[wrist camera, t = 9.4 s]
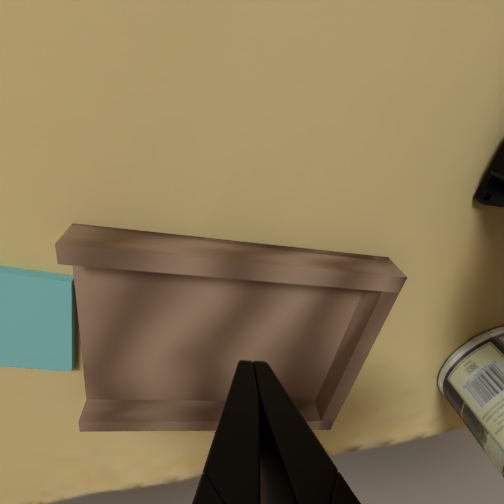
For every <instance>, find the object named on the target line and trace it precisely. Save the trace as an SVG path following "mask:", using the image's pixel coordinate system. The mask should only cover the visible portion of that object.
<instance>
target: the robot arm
mask: <svg viewBox="0 0 504 504" xmlns="http://www.w3.org/2000/svg"><path fill="white" fill-rule="evenodd" d="M486 194H487V195H486ZM485 195H486V196H485ZM484 196H485V197H484ZM475 200H476V201H477V202H479V203H481V204H484V205H491V206H497V207H504V144H503V146H502V147H501V149H500V151H499V153H498V155H497V156H496V158H495V160H494V162H493V164H492V166H491V167H490V169H489V171H488V173H487V175H486V177H485V178H484V180H483V182H482V184H481V186H480V187H479V189H478V191H477V193H476V195H475ZM337 472H338V470H337V468H336V466H335V465H334V463H333V462H332V460H331V459H330V457H329V455H328V454H327V452H326V451H325V449H324V448H323V446H322V445H321V443H320V442H319V440H318V439H317V437H316V436H315V434H314V433H313V431H312V430H311V428H310V427H309V425H308V424H307V422H306V421H305V419H304V417H303V416H302V414H301V413H300V411H299V410H298V408H297V407H296V405H295V404H294V402H293V401H292V399H291V398H290V396H289V395H288V393H287V392H286V390H285V389H284V387H283V386H282V384H281V382H280V381H279V379H278V378H277V376H276V375H275V373H274V372H273V370H272V369H271V367H270V366H269V364H268V363H267V362H266V361H253V362H252V361H250V360H240V361H239V362H238V364H237V367H236V370H235V373H234V377H233V380H232V383H231V386H230V389H229V392H228V395H227V398H226V401H225V404H224V408H223V411H222V414H221V417H220V420H219V423H218V426H217V429H216V432H215V435H214V439H213V442H212V445H211V448H210V451H209V454H208V457H207V460H206V463H205V466H204V469H203V474H202V475H201V478H200V481H199V485H198V488H197V491H196V494H195V496H194V499H193V502H192V504H361V503H360V502H359V501H358V499H357V497H356V496H355V495H354V493H353V492H352V491H351V489H350V487H349V486H348V484H347V483H346V481H345V480H344V478H343V477H342V475H341V474H340V473H339V472H338V473H337Z"/></svg>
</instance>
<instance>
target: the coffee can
mask: <svg viewBox="0 0 504 504" xmlns="http://www.w3.org/2000/svg"><path fill="white" fill-rule="evenodd" d="M438 387H439V390H440V391H441V393H442V394H443V395H444V396H445V397H446V398H447V400H448V401H449V402H450V404H451V405H452V407H453V408H454V409H455V411H456V412H457V413H458V415H459V416H460V418H461V419H462V420H463V422H464V423H465V424H466V425H467V427H468V429H469V430H470V431H471V433H472V434H473V436H474V437H475V438H476V440H477V441H478V443H479V444H480V445H481V447H482V448H483V450H484V451H485V452H486V454H487V455H488V456H489V458H490V459H491V460H492V462H493V463H494V465H495V466H496V467H497V469H498V470H499V471H500V473H501V474H502V476H503V477H504V326H503V327H500V328H495V329H492V330H490V331H488V332H485V333H482V334H480V335H478V336H476V337H475V338H473V339H471V340H469V341H468V342H467V343H465V344H464V345H463V346H461V347H460V348H458V349H457V350H456V351H455V352H454V353H453V354H452V355H451V356H450V357H449V358H448V360H447V361H446V362H445V364H444V365H443V367H442V368H441V370H440V374H439V376H438Z"/></svg>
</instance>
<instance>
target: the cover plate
mask: <svg viewBox="0 0 504 504" xmlns="http://www.w3.org/2000/svg"><path fill="white" fill-rule="evenodd" d="M0 366H4V367H18V368H31V369H44V370H57V371H70V372H72V371H73V368H74V366H75V284H74V276H72V275H65V274H58V273H50V272H43V271H36V270H29V269H21V268H14V267H7V266H0Z"/></svg>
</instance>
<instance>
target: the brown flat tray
mask: <svg viewBox="0 0 504 504" xmlns="http://www.w3.org/2000/svg"><path fill="white" fill-rule="evenodd" d="M55 247H56V254H57V262H58V264H63V265H73V274H74V284H75V293H76V303H77V312H78V322H79V331H80V341H81V350H82V360H83V369H84V378H85V388H86V397H87V400H86V403H85V406H84V408H83V411H82V414H81V417H80V419H79V429H80V432H82V431H208V430H216V429H217V426H218V423H219V420H220V417H221V414H222V411H223V408H224V404H225V401H226V398H227V395H228V392H229V389H230V386H231V383H232V380H233V377H234V373H235V370H236V367H237V364H238V362H239V361H240V360H250V361H252V362H253V361H266V362H267V363H268V364H269V366H270V367H271V369H272V370H273V372H274V373H275V375H276V376H277V378H278V379H279V381H280V382H281V384H282V386H283V387H284V389H285V390H286V392H287V393H288V395H289V396H290V398H291V399H292V401H293V402H294V404H295V405H296V407H297V408H298V410H299V411H300V413H301V414H302V416H303V417H304V419H305V421H306V422H307V424H308V425H309V427H310V428H311V430H330V429H331V427H332V425H333V423H334V421H335V419H336V417H337V415H338V413H339V411H340V409H341V407H342V405H343V403H344V401H345V399H346V397H347V395H348V393H349V391H350V389H351V387H352V385H353V383H354V381H355V379H356V377H357V375H358V374H359V372H360V370H361V368H362V366H363V364H364V362H365V360H366V358H367V356H368V354H369V352H370V350H371V348H372V346H373V344H374V342H375V340H376V338H377V336H378V334H379V332H380V330H381V328H382V326H383V324H384V322H385V320H386V318H387V316H388V314H389V312H390V310H391V308H392V306H393V304H394V302H395V300H396V298H397V296H398V294H399V292H400V291H401V289H402V287H403V285H404V283H405V281H406V279H407V277H406V276H405V275H404V274H403V273H402V271H401V270H400V269H399V268H398V267H397V266H396V265H395V264H394V263H393V262H392V261H391V260H390V259H389V258H388V257H379V256H370V255H360V254H351V253H342V252H333V251H323V250H314V249H305V248H295V247H286V246H277V245H267V244H258V243H249V242H239V241H230V240H221V239H212V238H202V237H193V236H184V235H174V234H165V233H156V232H146V231H137V230H128V229H118V228H109V227H100V226H91V225H81V224H72V225H71V226H70V227H69V228H68V230H67V231H66V232H65V233H64V234H63V235H62V237H61V238H60V239H59V240H58V241H57V242H56V244H55Z"/></svg>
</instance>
